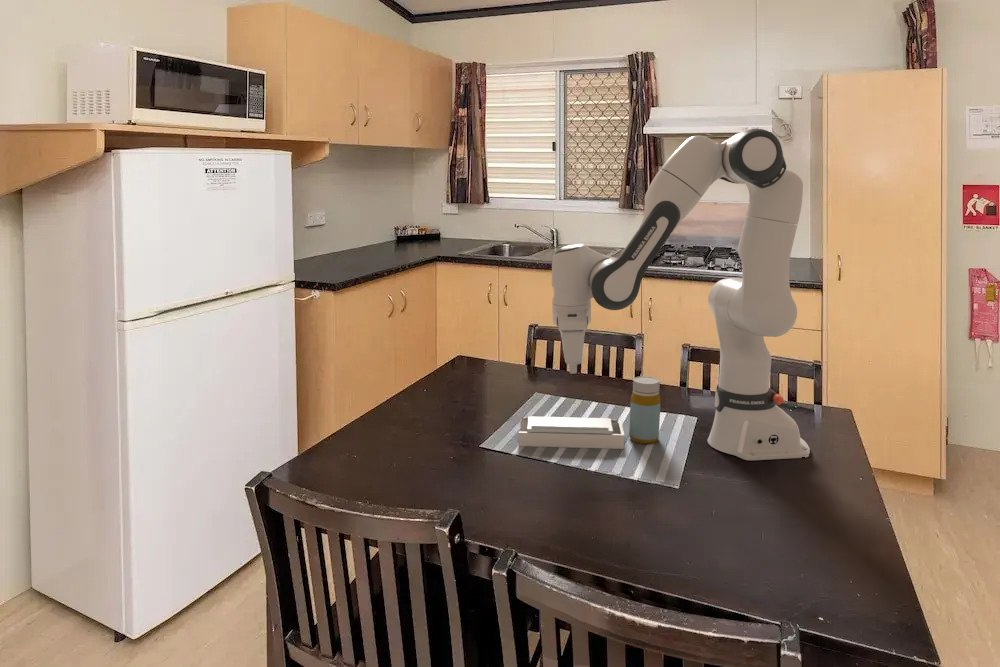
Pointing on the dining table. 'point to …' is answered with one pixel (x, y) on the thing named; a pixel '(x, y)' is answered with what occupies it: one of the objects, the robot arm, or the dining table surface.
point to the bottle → (645, 410)
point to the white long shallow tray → (572, 438)
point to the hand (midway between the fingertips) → (573, 371)
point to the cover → (569, 425)
